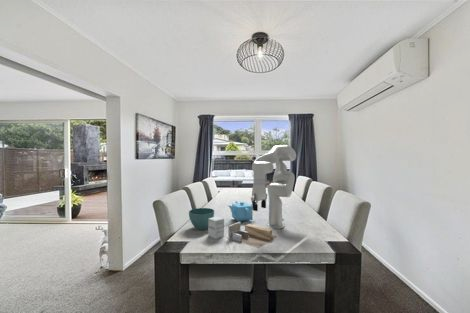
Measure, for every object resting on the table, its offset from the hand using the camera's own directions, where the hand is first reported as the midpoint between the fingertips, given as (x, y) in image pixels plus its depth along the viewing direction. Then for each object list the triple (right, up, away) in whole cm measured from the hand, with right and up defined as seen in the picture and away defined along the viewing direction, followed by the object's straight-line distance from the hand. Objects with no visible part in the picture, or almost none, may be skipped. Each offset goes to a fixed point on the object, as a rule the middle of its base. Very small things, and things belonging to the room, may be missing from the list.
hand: (259, 209), depth 141 cm
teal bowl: (-39, -19, +20) cm, 48 cm away
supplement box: (-27, -19, 0) cm, 33 cm away
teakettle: (-10, -18, +39) cm, 45 cm away
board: (-5, -18, -2) cm, 19 cm away
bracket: (-12, -17, -4) cm, 21 cm away
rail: (-1, -17, +1) cm, 17 cm away
